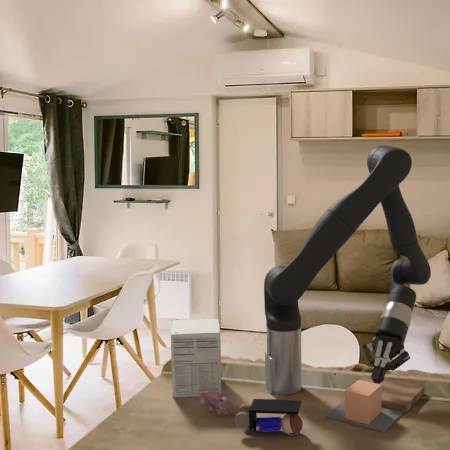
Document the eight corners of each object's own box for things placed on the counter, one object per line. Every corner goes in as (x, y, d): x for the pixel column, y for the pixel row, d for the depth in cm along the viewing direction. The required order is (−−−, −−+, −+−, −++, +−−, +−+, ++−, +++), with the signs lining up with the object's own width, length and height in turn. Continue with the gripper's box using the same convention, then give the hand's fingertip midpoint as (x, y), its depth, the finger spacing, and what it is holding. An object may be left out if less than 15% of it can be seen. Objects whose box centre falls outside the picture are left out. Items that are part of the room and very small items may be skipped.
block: (358, 379, 160) (344, 390, 153) (381, 384, 156) (368, 396, 150) (358, 406, 161) (344, 418, 154) (381, 411, 157) (368, 424, 151)
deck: (366, 381, 177) (366, 374, 177) (424, 393, 168) (424, 386, 168) (345, 399, 166) (345, 391, 166) (405, 413, 157) (405, 405, 157)
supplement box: (222, 396, 170) (220, 332, 167) (172, 398, 169) (169, 334, 167) (220, 377, 183) (219, 318, 180) (174, 379, 182) (172, 319, 180)
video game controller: (202, 414, 163) (192, 394, 160) (213, 401, 166) (203, 381, 162) (231, 425, 156) (221, 405, 153) (242, 411, 159) (233, 391, 156)
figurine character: (236, 442, 147) (302, 440, 144) (232, 411, 146) (298, 408, 143) (242, 429, 154) (305, 427, 150) (237, 398, 153) (301, 396, 150)
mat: (346, 399, 166) (346, 398, 166) (403, 413, 157) (403, 411, 157) (325, 417, 156) (325, 415, 156) (384, 432, 147) (384, 430, 147)
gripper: (367, 312, 171) (347, 370, 163) (416, 319, 163) (398, 381, 155) (374, 326, 176) (355, 383, 168) (422, 334, 169) (405, 394, 160)
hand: (376, 382), depth 162 cm, fingers closed
